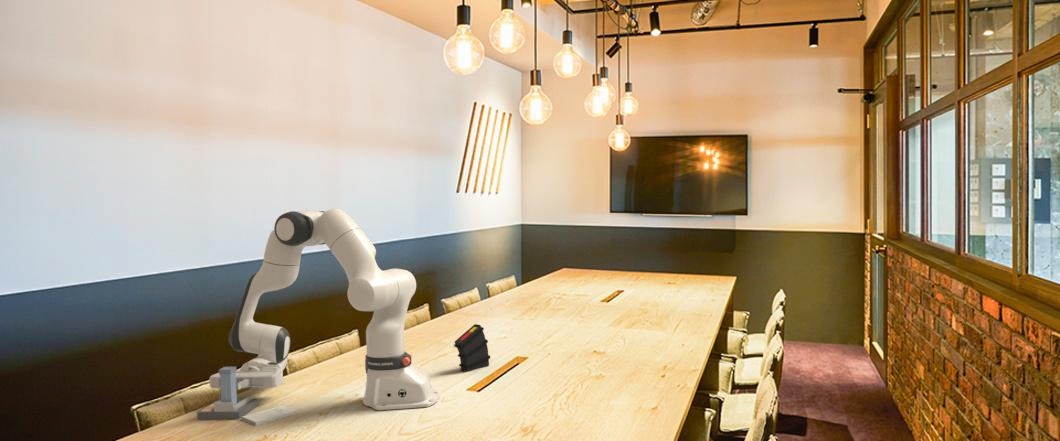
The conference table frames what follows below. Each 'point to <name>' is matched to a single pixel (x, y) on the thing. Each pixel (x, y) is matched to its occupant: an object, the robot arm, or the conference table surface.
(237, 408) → the grey stepped square base
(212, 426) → the conference table surface
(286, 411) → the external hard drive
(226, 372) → the switch tab
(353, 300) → the robot arm
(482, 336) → the magazine
